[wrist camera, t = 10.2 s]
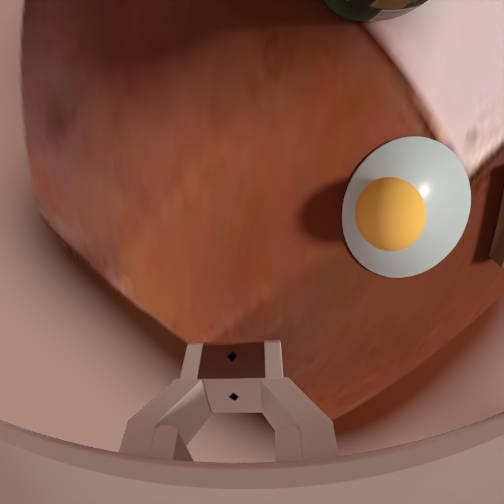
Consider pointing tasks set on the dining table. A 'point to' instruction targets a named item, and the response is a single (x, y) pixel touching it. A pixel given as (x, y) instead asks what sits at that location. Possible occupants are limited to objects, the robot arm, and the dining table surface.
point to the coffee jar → (372, 8)
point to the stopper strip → (499, 238)
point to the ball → (390, 214)
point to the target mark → (432, 192)
